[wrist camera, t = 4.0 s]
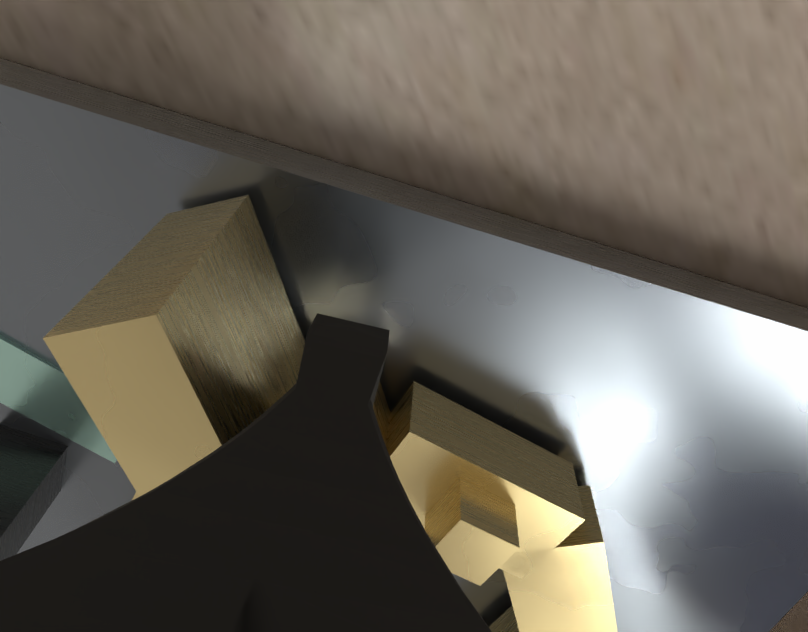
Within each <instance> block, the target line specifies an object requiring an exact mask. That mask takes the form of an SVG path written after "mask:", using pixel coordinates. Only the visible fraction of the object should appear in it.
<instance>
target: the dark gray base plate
mask: <svg viewBox="0 0 808 632" xmlns="http://www.w3.org/2000/svg"><path fill="white" fill-rule="evenodd" d="M245 195H249V198H250V201H251V203H252V206H253V208H254V211H255V214H256V216H257V219H258V221H259V224H260V227H261V229H262V232H263V234H264V237H265V240H266V242H267V245H268V247H269V250H270V253H271V255H272V258H273V260H274V263H275V265H276V268H277V271H278V273H279V276H280V278H281V281H282V284H283V286H284V289H285V291H286V294H287V297H288V299H289V302H290V304H291V307H292V310H293V312H294V315H295V317H296V320H297V323H298V325H299V328H300V330H301V333H302V335H303V338H304V341H305V340H306V335H307V332H308V330H309V328H310V326H311V324H312V322H313V320H314V318H315V316H316V315H317V313H318V314H322V315H327V316H331V317H335V318H340V319H344V320H348V321H352V322H357V323H361V324H365V325H370V326H374V327H378V328H383V329H387V330H389V341H388V349H387V355H386V358H385V362H384V366H383V370H382V374H381V378H380V383H381V386H382V389H383V392H384V395H385V398H386V401H387V404H388V407H389V410H390V412H391V411H392V409H393V408H394V407H395V405H396V404H397V403H398V401H399V400H400V399H401V397H402V396H403V395H404V393H405V392H406V391H407V389H408V388H409V387H410V385H411V384H412V383H413V381H415V382H417V383H419V384H421V385H423V386H424V387H426V388H428V389H430V390H432V391H434V392H436V393H438V394H440V395H442V396H444V397H446V398H447V399H449V400H451V401H453V402H455V403H457V404H459V405H461V406H463V407H465V408H467V409H469V410H470V411H472V412H474V413H476V414H478V415H480V416H482V417H484V418H486V419H488V420H490V421H492V422H493V423H495V424H497V425H499V426H501V427H503V428H505V429H507V430H509V431H511V432H513V433H515V434H516V435H518V436H520V437H522V438H524V439H526V440H528V441H530V442H532V443H534V444H536V445H538V446H539V447H541V448H543V449H545V450H547V451H549V452H551V453H553V454H555V455H557V456H559V457H561V458H562V459H564V460H566V461H568V462H570V463H572V464H573V468H574V472H575V477H576V481H577V485H578V486H584V485H590V488H591V492H592V496H593V500H594V505H595V509H596V513H597V517H598V521H599V525H600V529H601V533H602V537H603V541H604V547H605V553H606V560H607V566H608V573H609V579H610V586H611V592H612V599H613V605H614V612H615V619H616V625H617V632H769V631H770V630H771V629H772V628H773V627H774V626H775V625H776V624H777V623H778V622H779V621H780V620H781V619H782V618H783V616H784V615H785V614H786V613H787V612H788V611H789V610H790V609H791V608H792V607H793V606H794V605H795V604H796V603H797V602H798V601H799V600H800V599H801V598H802V597H803V596H804V595H805V594H806V593H807V592H808V308H805V307H802V306H799V305H795V304H792V303H789V302H786V301H782V300H779V299H776V298H773V297H770V296H766V295H763V294H760V293H757V292H753V291H750V290H747V289H744V288H741V287H737V286H734V285H731V284H728V283H724V282H721V281H718V280H715V279H711V278H708V277H705V276H702V275H699V274H695V273H692V272H689V271H686V270H682V269H679V268H676V267H673V266H670V265H666V264H663V263H660V262H657V261H653V260H650V259H647V258H644V257H640V256H637V255H634V254H631V253H628V252H624V251H621V250H618V249H615V248H611V247H608V246H605V245H602V244H599V243H595V242H592V241H589V240H586V239H582V238H579V237H576V236H573V235H570V234H566V233H563V232H560V231H557V230H553V229H550V228H547V227H544V226H540V225H537V224H534V223H531V222H528V221H524V220H521V219H518V218H515V217H511V216H508V215H505V214H502V213H499V212H495V211H492V210H489V209H486V208H482V207H479V206H476V205H473V204H470V203H466V202H463V201H460V200H457V199H453V198H450V197H447V196H444V195H440V194H437V193H434V192H431V191H428V190H424V189H421V188H418V187H415V186H411V185H408V184H405V183H402V182H399V181H395V180H392V179H389V178H386V177H382V176H379V175H376V174H373V173H369V172H366V171H363V170H360V169H357V168H353V167H350V166H347V165H344V164H340V163H337V162H334V161H331V160H328V159H324V158H321V157H318V156H315V155H311V154H308V153H305V152H302V151H299V150H295V149H292V148H289V147H286V146H282V145H279V144H276V143H273V142H269V141H266V140H263V139H260V138H257V137H253V136H250V135H247V134H244V133H240V132H237V131H234V130H231V129H228V128H224V127H221V126H218V125H215V124H211V123H208V122H205V121H202V120H198V119H195V118H192V117H189V116H186V115H182V114H179V113H176V112H173V111H169V110H166V109H163V108H160V107H157V106H153V105H150V104H147V103H144V102H140V101H137V100H134V99H131V98H128V97H124V96H121V95H118V94H115V93H111V92H108V91H105V90H102V89H98V88H95V87H92V86H89V85H86V84H82V83H79V82H76V81H73V80H69V79H66V78H63V77H60V76H57V75H53V74H50V73H47V72H44V71H40V70H37V69H34V68H31V67H27V66H24V65H21V64H18V63H15V62H11V61H8V60H5V59H2V58H0V561H1V560H4V559H6V558H8V557H11V556H13V555H16V554H18V553H21V552H23V551H26V550H28V549H31V548H33V547H35V546H38V545H40V544H43V543H45V542H48V541H50V540H53V539H55V538H57V537H59V536H62V535H64V534H66V533H68V532H70V531H72V530H75V529H77V528H79V527H81V526H83V525H85V524H87V523H89V522H91V521H93V520H95V519H97V518H99V517H100V516H102V515H104V514H106V513H108V512H110V511H112V510H114V509H116V508H118V507H120V506H122V505H124V504H126V503H128V502H130V501H132V499H133V497H134V495H135V493H136V490H135V488H134V487H133V485H132V484H131V482H130V480H129V479H128V477H127V475H126V474H125V472H124V470H123V469H122V467H121V466H120V464H119V462H118V461H117V459H116V457H115V456H114V454H113V452H112V451H111V449H110V448H109V446H108V444H107V443H106V441H105V439H104V438H103V436H102V434H101V433H100V431H99V430H98V428H97V426H96V425H95V423H94V421H93V420H92V418H91V416H90V415H89V413H88V412H87V410H86V408H85V407H84V405H83V403H82V402H81V400H80V398H79V397H78V395H77V394H76V392H75V390H74V389H73V387H72V385H71V384H70V382H69V380H68V379H67V377H66V376H65V374H64V372H63V371H62V369H61V367H60V366H59V364H58V362H57V361H56V359H55V358H54V356H53V354H52V353H51V351H50V349H49V348H48V346H47V344H46V343H45V341H44V340H43V337H44V336H45V335H46V334H47V333H48V332H49V331H50V330H51V329H52V328H53V327H54V326H55V325H56V324H57V323H58V322H59V321H60V320H61V319H62V318H63V317H64V316H65V315H66V314H67V313H68V312H69V311H70V310H71V309H72V308H73V307H74V306H75V305H76V304H77V303H78V302H79V301H80V300H81V299H82V298H83V297H84V296H85V295H86V294H87V293H88V292H89V291H90V290H91V289H92V288H93V287H94V286H95V285H96V284H97V283H98V282H99V281H100V280H101V279H102V278H103V277H104V276H105V275H106V274H107V273H108V272H109V271H110V270H111V269H112V268H113V267H114V266H115V265H116V264H117V263H118V262H119V261H120V260H121V259H122V258H123V257H124V256H125V255H126V254H127V253H128V252H129V251H130V250H131V249H132V248H133V247H134V246H135V245H136V244H137V243H138V242H139V241H140V240H141V239H142V238H143V237H144V236H145V235H146V234H147V233H148V232H149V231H150V230H151V229H152V228H153V227H154V226H155V225H156V224H157V223H158V222H159V221H160V220H161V219H162V218H163V217H164V216H165V215H166V214H168V213H173V212H177V211H181V210H186V209H190V208H194V207H198V206H203V205H207V204H211V203H216V202H220V201H224V200H228V199H233V198H237V197H241V196H245ZM452 574H453V573H452ZM453 576H454V578H455V579H456V581H457V582H458V584H459V586H460V587H461V589H462V590H463V592H464V593H465V595H466V596H467V597H468V599H469V600H470V602H471V603H472V604H473V606H474V607H475V609H476V610H477V611H478V613H479V614H480V616H481V617H482V618H483V620H484V621H485V623H486V624H487V625H488V627H489V626H490V625H491V624H492V623H493V622H494V621H496V620H497V619H498V618H499V617H500V616H501V615H502V614H503V613H504V612H506V611H507V610H508V609H509V608H510V607H511V606H512V602H511V598H510V594H509V591H508V587H507V583H506V579H505V576H504V572H503V570H502V569H499V568H498V569H497V570H496V571H495V572H494V573H493V574H492V575H491V576H490V577H489V578H488V579H487V580H486V581H485V582H484V583H483V584H482V585H481V586H479V585H477V584H475V583H473V582H470V581H468V580H466V579H464V578H462V577H460V576H457V575H455V574H453Z"/></svg>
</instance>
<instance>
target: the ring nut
mask: <svg viewBox="0 0 808 632" xmlns="http://www.w3.org/2000/svg"><path fill="white" fill-rule="evenodd" d="M43 340H44V341H45V343H46V344H47V346H48V348H49V349H50V351H51V353H52V354H53V356H54V358H55V359H56V361H57V362H58V364H59V366H60V367H61V369H62V371H63V372H64V374H65V376H66V377H67V379H68V380H69V382H70V384H71V385H72V387H73V389H74V390H75V392H76V394H77V395H78V397H79V398H80V400H81V402H82V403H83V405H84V407H85V408H86V410H87V412H88V413H89V415H90V416H91V418H92V420H93V421H94V423H95V425H96V426H97V428H98V430H99V431H100V433H101V434H102V436H103V438H104V439H105V441H106V443H107V444H108V446H109V448H110V449H111V451H112V452H113V454H114V456H115V457H116V459H117V461H118V462H119V464H120V466H121V467H122V469H123V470H124V472H125V474H126V475H127V477H128V479H129V480H130V482H131V484H132V485H133V487H134V488H135V490H136V493H135V495H134V497H133V499H132V500H134V499H136V498H138V497H140V496H142V495H144V494H145V493H147V492H149V491H151V490H152V489H154V488H156V487H158V486H159V485H161V484H163V483H164V482H166V481H168V480H170V479H171V478H173V477H174V476H176V475H178V474H179V473H181V472H182V471H184V470H185V469H187V468H189V467H190V466H192V465H193V464H195V463H196V462H198V461H200V460H201V459H203V458H204V457H206V456H207V455H209V454H210V453H212V452H213V451H215V450H216V449H217V448H219V447H220V446H222V445H223V444H224V443H226V442H227V441H229V440H230V439H231V438H233V437H234V436H235V435H237V434H238V433H239V432H241V431H242V430H243V429H244V428H246V427H247V426H248V425H250V424H251V423H252V422H253V421H255V420H256V419H257V418H258V417H259V416H261V415H262V414H263V413H264V412H265V411H266V410H267V409H268V408H270V407H271V406H272V405H273V404H274V403H275V402H276V401H277V400H279V399H280V398H281V397H282V396H283V395H284V394H285V393H287V392H288V391H289V390H290V389H291V388H292V387H293V386H294V385H295V384H296V383H297V379H298V374H299V369H300V364H301V360H302V355H303V350H304V345H305V341H304V338H303V335H302V333H301V330H300V328H299V325H298V323H297V320H296V317H295V315H294V312H293V310H292V307H291V304H290V302H289V299H288V297H287V294H286V291H285V289H284V286H283V284H282V281H281V278H280V276H279V273H278V271H277V268H276V265H275V263H274V260H273V258H272V255H271V253H270V250H269V247H268V245H267V242H266V240H265V237H264V234H263V232H262V229H261V227H260V224H259V221H258V219H257V216H256V214H255V211H254V208H253V206H252V203H251V201H250V198H249V195H245V196H241V197H237V198H233V199H228V200H224V201H220V202H216V203H211V204H207V205H203V206H198V207H194V208H190V209H186V210H181V211H177V212H173V213H168V214H166V215H165V216H164V217H163V218H162V219H161V220H160V221H159V222H158V223H157V224H156V225H155V226H154V227H153V228H152V229H151V230H150V231H149V232H148V233H147V234H146V235H145V236H144V237H143V238H142V239H141V240H140V241H139V242H138V243H137V244H136V245H135V246H134V247H133V248H132V249H131V250H130V251H129V252H128V253H127V254H126V255H125V256H124V257H123V258H122V259H121V260H120V261H119V262H118V263H117V264H116V265H115V266H114V267H113V268H112V269H111V270H110V271H109V272H108V273H107V274H106V275H105V276H104V277H103V278H102V279H101V280H100V281H99V282H98V283H97V284H96V285H95V286H94V287H93V288H92V289H91V290H90V291H89V292H88V293H87V294H86V295H85V296H84V297H83V298H82V299H81V300H80V301H79V302H78V303H77V304H76V305H75V306H74V307H73V308H72V309H71V310H70V311H69V312H68V313H67V314H66V315H65V316H64V317H63V318H62V319H61V320H60V321H59V322H58V323H57V324H56V325H55V326H54V327H53V328H52V329H51V330H50V331H49V332H48V333H47V334H46V335H45V336H44V337H43ZM373 410H374V413H375V416H376V419H377V423H378V426H379V429H380V432H381V434H382V437H383V440H384V443H385V445H386V448H387V451H388V453H389V456H390V458H391V461H392V463H393V466H394V468H395V470H396V473H397V475H398V477H399V480H400V482H401V484H402V486H403V488H404V490H405V492H406V494H407V496H408V499H409V501H410V503H411V504H412V506H413V508H414V510H415V512H416V514H417V516H418V518H419V520H420V522H421V523H422V525H423V527H424V529H425V531H426V533H427V534H428V536H429V538H430V539H431V541H432V542H433V544H434V546H435V547H436V549H437V550H438V552H439V554H440V555H441V557H442V558H443V560H444V562H445V563H446V565H447V566H448V568H449V570H450V571H451V573H453V574H455V575H457V576H460V577H462V578H464V579H466V580H468V581H470V582H473V583H475V584H477V585H479V586H481V585H482V584H483V583H484V582H485V581H486V580H487V579H488V578H489V577H490V576H491V575H492V574H493V573H494V572H495V571H496V570H497V569H498V568H499V569H502V570H503V572H504V576H505V579H506V583H507V587H508V591H509V594H510V598H511V602H512V606H511V607H510V608H509V609H508V610H507V611H506V612H504V613H503V614H502V615H501V616H500V617H499V618H498V619H497V620H496V621H494V622H493V623H492V624H491V625H490V626H489V628H490V630H491V631H492V632H617V625H616V619H615V612H614V605H613V599H612V592H611V586H610V579H609V573H608V566H607V560H606V553H605V547H604V541H603V537H602V533H601V529H600V525H599V521H598V517H597V513H596V509H595V505H594V500H593V496H592V492H591V488H590V485H584V486H578V485H577V481H576V477H575V472H574V468H573V464H572V463H570V462H568V461H566V460H564V459H562V458H561V457H559V456H557V455H555V454H553V453H551V452H549V451H547V450H545V449H543V448H541V447H539V446H538V445H536V444H534V443H532V442H530V441H528V440H526V439H524V438H522V437H520V436H518V435H516V434H515V433H513V432H511V431H509V430H507V429H505V428H503V427H501V426H499V425H497V424H495V423H493V422H492V421H490V420H488V419H486V418H484V417H482V416H480V415H478V414H476V413H474V412H472V411H470V410H469V409H467V408H465V407H463V406H461V405H459V404H457V403H455V402H453V401H451V400H449V399H447V398H446V397H444V396H442V395H440V394H438V393H436V392H434V391H432V390H430V389H428V388H426V387H424V386H423V385H421V384H419V383H417V382H415V381H413V383H412V384H411V385H410V387H409V388H408V389H407V391H406V392H405V393H404V395H403V396H402V397H401V399H400V400H399V401H398V403H397V404H396V405H395V407H394V408H393V409H392V411H391V412H390V410H389V407H388V404H387V401H386V398H385V395H384V392H383V389H382V386H381V383H380V381H379V385H378V389H377V393H376V397H375V401H374V404H373Z"/></svg>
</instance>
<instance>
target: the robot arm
mask: <svg viewBox="0 0 808 632" xmlns="http://www.w3.org/2000/svg"><path fill="white" fill-rule="evenodd" d="M388 341H389V330H387V329H383V328H378V327H374V326H370V325H365V324H361V323H357V322H352V321H348V320H344V319H340V318H335V317H331V316H327V315H322V314H318V313H317V315H316V316H315V318H314V320H313V322H312V324H311V326H310V328H309V330H308V332H307V335H306V340H305V345H304V350H303V355H302V360H301V364H300V369H299V374H298V379H297V383H296V384H295V385H294V386H293V387H292V388H291V389H290V390H289V391H288V392H287V393H285V394H284V395H283V396H282V397H281V398H280V399H279V400H277V401H276V402H275V403H274V404H273V405H272V406H271V407H270V408H268V409H267V410H266V411H265V412H264V413H263V414H262V415H261V416H259V417H258V418H257V419H256V420H255V421H253V422H252V423H251V424H250V425H248V426H247V427H246V428H244V429H243V430H242V431H241V432H239V433H238V434H237V435H235V436H234V437H233V438H231V439H230V440H229V441H227V442H226V443H224V444H223V445H222V446H220V447H219V448H217V449H216V450H215V451H213V452H212V453H210V454H209V455H207V456H206V457H204V458H203V459H201V460H200V461H198V462H196V463H195V464H193V465H192V466H190V467H189V468H187V469H185V470H184V471H182V472H181V473H179V474H178V475H176V476H174V477H173V478H171V479H170V480H168V481H166V482H164V483H163V484H161V485H159V486H158V487H156V488H154V489H152V490H151V491H149V492H147V493H145V494H144V495H142V496H140V497H138V498H136V499H134V500H132V501H130V502H128V503H126V504H124V505H122V506H120V507H118V508H116V509H114V510H112V511H110V512H108V513H106V514H104V515H102V516H100V517H99V518H97V519H95V520H93V521H91V522H89V523H87V524H85V525H83V526H81V527H79V528H77V529H75V530H72V531H70V532H68V533H66V534H64V535H62V536H59V537H57V538H55V539H53V540H50V541H48V542H45V543H43V544H40V545H38V546H35V547H33V548H31V549H28V550H26V551H23V552H21V553H18V554H16V555H13V556H11V557H8V558H6V559H4V560H1V561H0V632H492V631H491V630H490V628H489V627H488V625H487V624H486V623H485V621H484V620H483V618H482V617H481V616H480V614H479V613H478V611H477V610H476V609H475V607H474V606H473V604H472V603H471V602H470V600H469V599H468V597H467V596H466V595H465V593H464V592H463V590H462V589H461V587H460V586H459V584H458V582H457V581H456V579H455V578H454V576H453V574H452V573H451V571H450V570H449V568H448V566H447V565H446V563H445V562H444V560H443V558H442V557H441V555H440V554H439V552H438V550H437V549H436V547H435V546H434V544H433V542H432V541H431V539H430V538H429V536H428V534H427V533H426V531H425V529H424V527H423V525H422V523H421V522H420V520H419V518H418V516H417V514H416V512H415V510H414V508H413V506H412V504H411V503H410V501H409V499H408V496H407V494H406V492H405V490H404V488H403V486H402V484H401V482H400V480H399V477H398V475H397V473H396V470H395V468H394V466H393V463H392V461H391V458H390V456H389V453H388V451H387V448H386V445H385V443H384V440H383V437H382V434H381V432H380V429H379V426H378V423H377V419H376V416H375V413H374V410H373V404H374V401H375V397H376V393H377V389H378V385H379V381H380V378H381V374H382V370H383V366H384V362H385V358H386V355H387V349H388Z"/></svg>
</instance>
